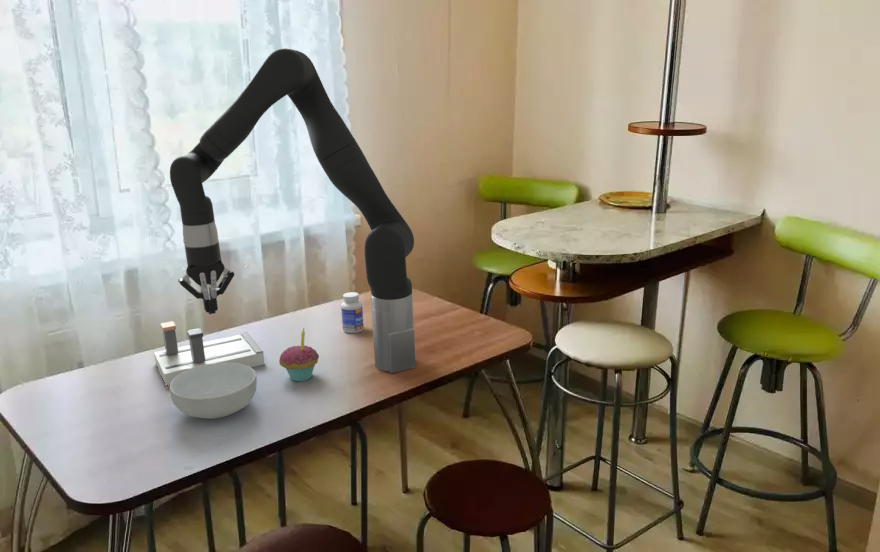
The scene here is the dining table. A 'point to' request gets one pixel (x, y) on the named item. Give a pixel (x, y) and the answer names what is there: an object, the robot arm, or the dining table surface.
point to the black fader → (196, 345)
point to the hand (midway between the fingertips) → (211, 312)
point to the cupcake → (299, 361)
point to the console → (211, 355)
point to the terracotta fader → (169, 337)
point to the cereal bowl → (213, 389)
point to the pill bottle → (352, 313)
